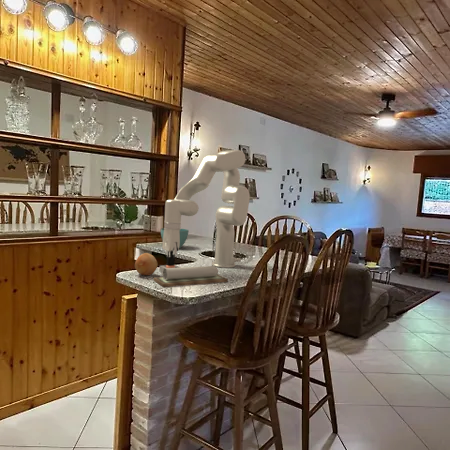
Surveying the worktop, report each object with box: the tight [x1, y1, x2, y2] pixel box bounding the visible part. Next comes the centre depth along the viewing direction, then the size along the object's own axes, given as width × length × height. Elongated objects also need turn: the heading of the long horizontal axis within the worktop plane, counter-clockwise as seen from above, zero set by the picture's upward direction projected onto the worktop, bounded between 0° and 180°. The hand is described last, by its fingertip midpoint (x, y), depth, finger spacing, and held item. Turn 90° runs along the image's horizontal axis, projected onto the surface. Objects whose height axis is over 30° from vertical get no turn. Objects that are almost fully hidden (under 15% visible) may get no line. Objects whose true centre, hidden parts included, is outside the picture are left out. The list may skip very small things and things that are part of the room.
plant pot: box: [160, 227, 189, 249], centre depth 248 cm, size 18×18×12 cm
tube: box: [161, 265, 219, 281], centre depth 162 cm, size 5×5×25 cm
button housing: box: [159, 264, 181, 274], centre depth 178 cm, size 8×8×2 cm
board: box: [153, 273, 229, 288], centre depth 163 cm, size 30×11×1 cm, turn 121°
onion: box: [134, 252, 158, 276], centre depth 168 cm, size 10×10×10 cm
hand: (170, 265), depth 177 cm, fingers closed
